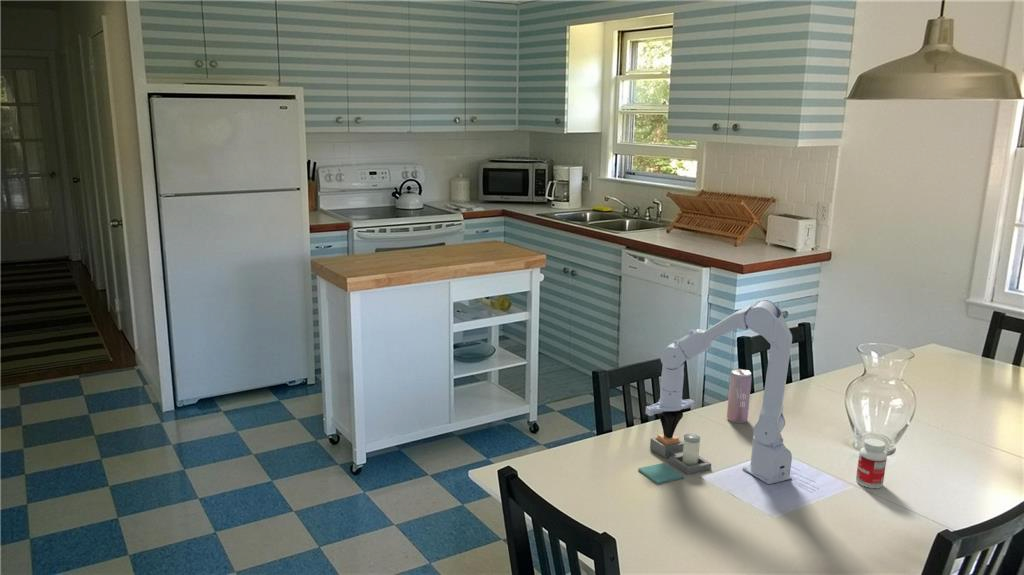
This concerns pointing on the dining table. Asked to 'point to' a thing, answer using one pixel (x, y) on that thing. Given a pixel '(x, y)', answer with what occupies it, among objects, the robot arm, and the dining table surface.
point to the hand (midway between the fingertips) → (668, 436)
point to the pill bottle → (871, 464)
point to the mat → (660, 473)
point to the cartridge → (691, 449)
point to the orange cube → (667, 439)
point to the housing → (678, 456)
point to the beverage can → (739, 396)
